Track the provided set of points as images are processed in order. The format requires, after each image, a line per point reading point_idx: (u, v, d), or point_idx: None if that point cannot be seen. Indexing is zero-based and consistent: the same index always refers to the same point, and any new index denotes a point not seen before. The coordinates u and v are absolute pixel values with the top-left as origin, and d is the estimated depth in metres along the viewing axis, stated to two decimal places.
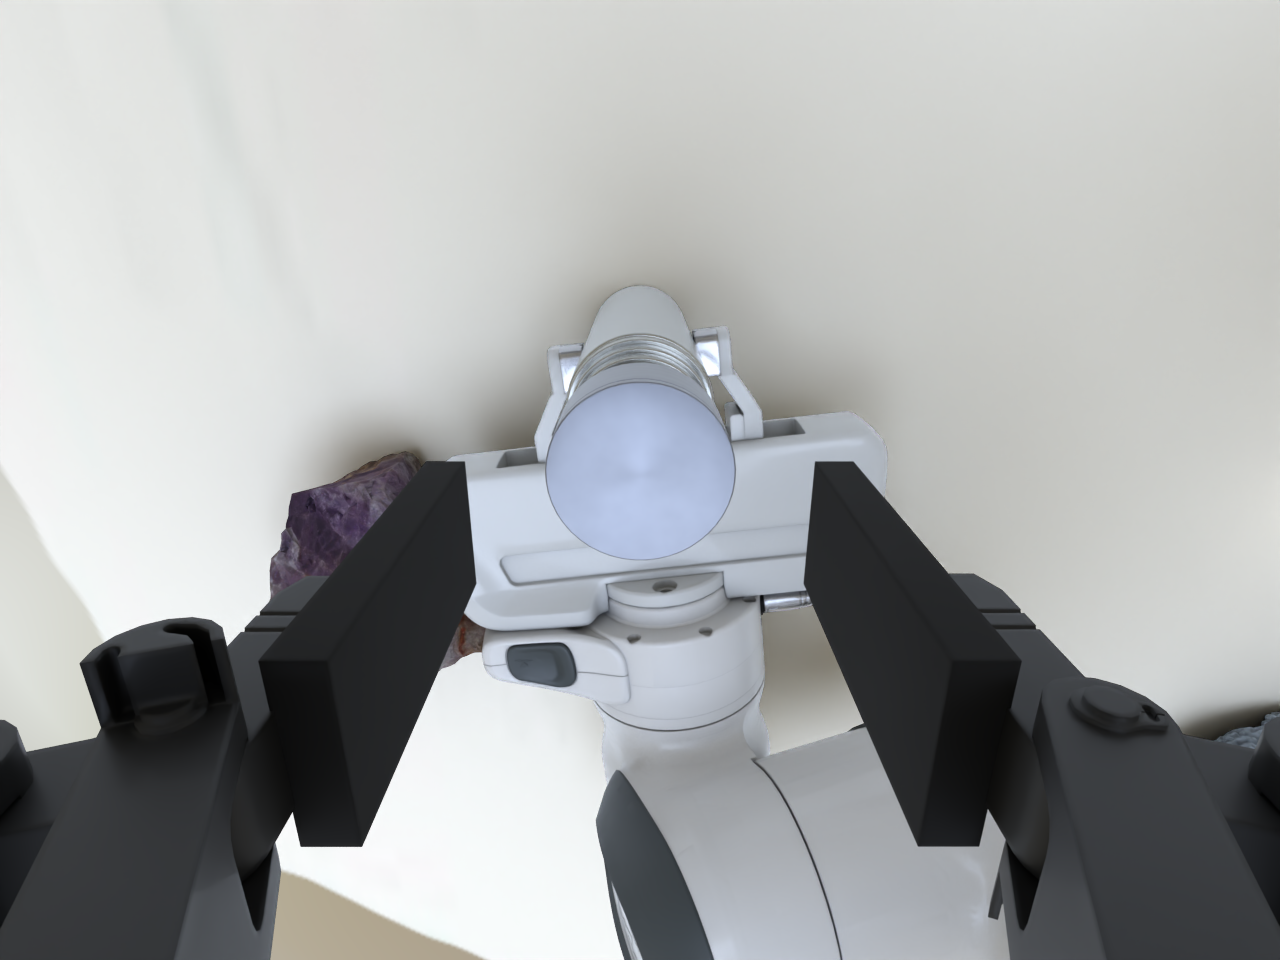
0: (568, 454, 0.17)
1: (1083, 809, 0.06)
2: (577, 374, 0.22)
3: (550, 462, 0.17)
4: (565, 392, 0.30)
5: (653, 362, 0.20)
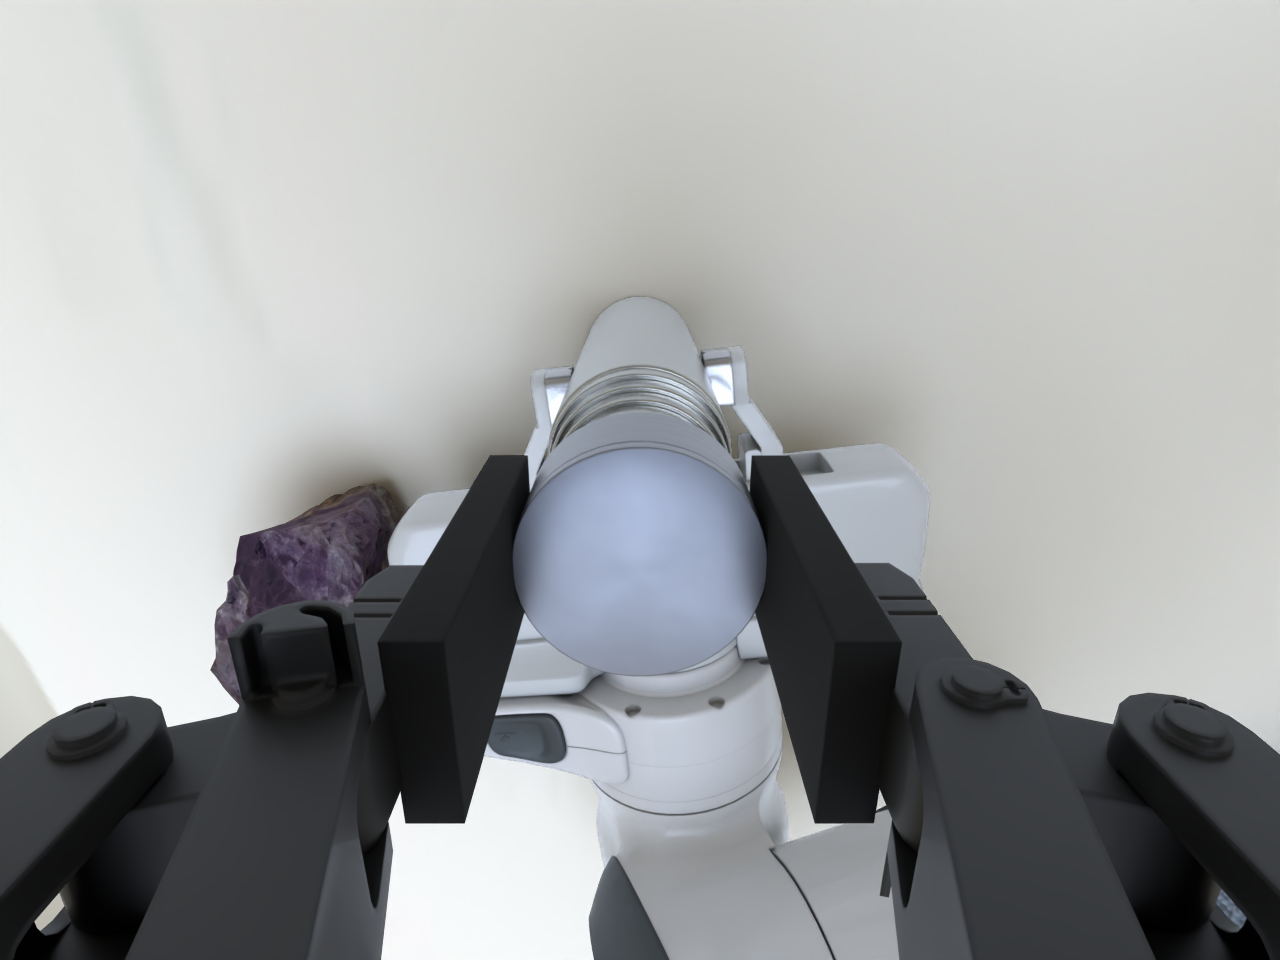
0: (542, 542, 0.12)
1: (950, 787, 0.06)
2: (561, 417, 0.17)
3: (517, 552, 0.12)
4: None
5: (656, 405, 0.16)
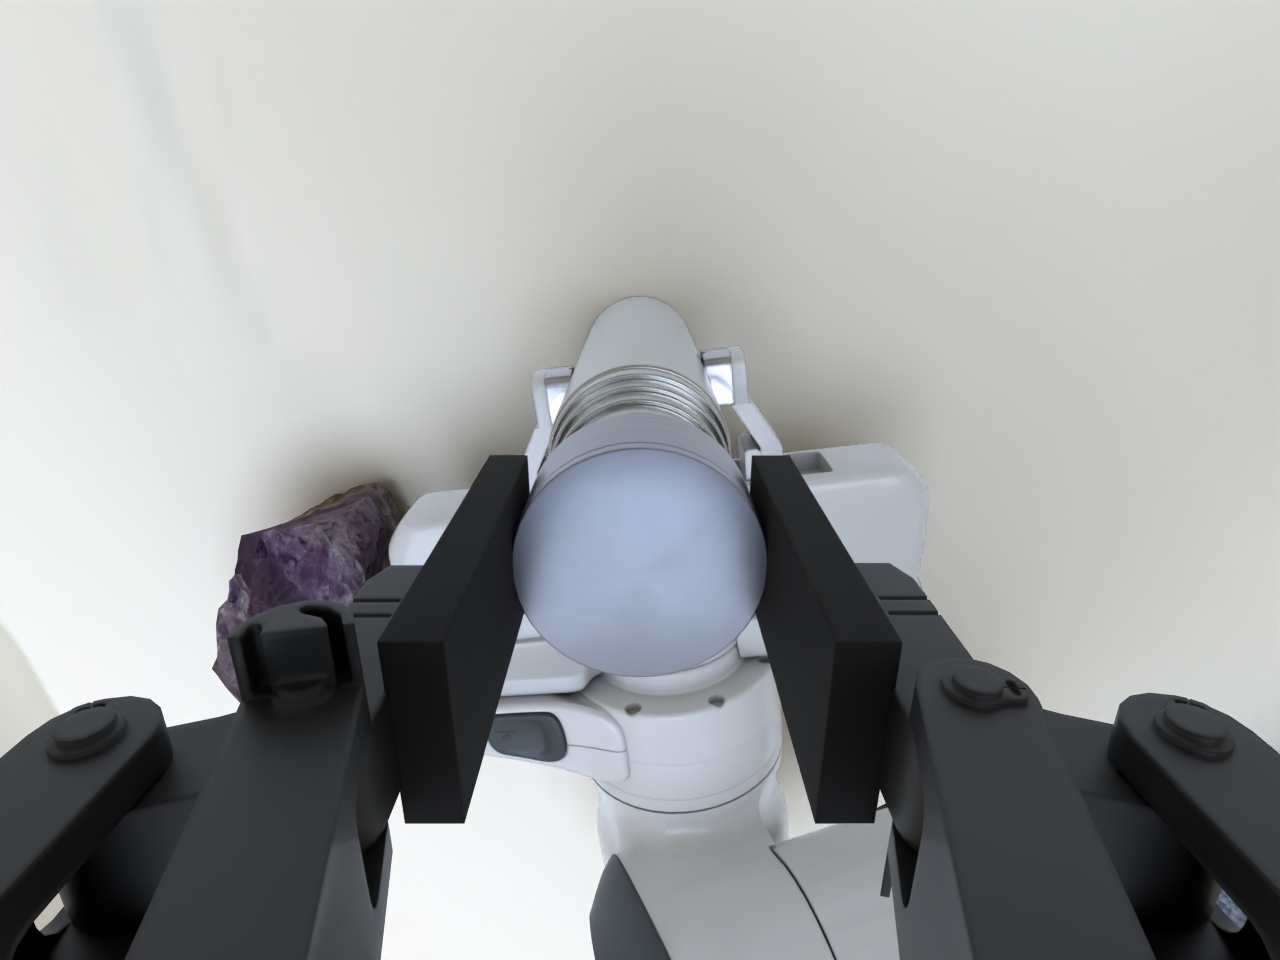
0: (615, 653, 0.13)
1: (951, 787, 0.06)
2: (561, 416, 0.17)
3: (627, 672, 0.13)
4: (552, 424, 0.25)
5: (656, 405, 0.16)
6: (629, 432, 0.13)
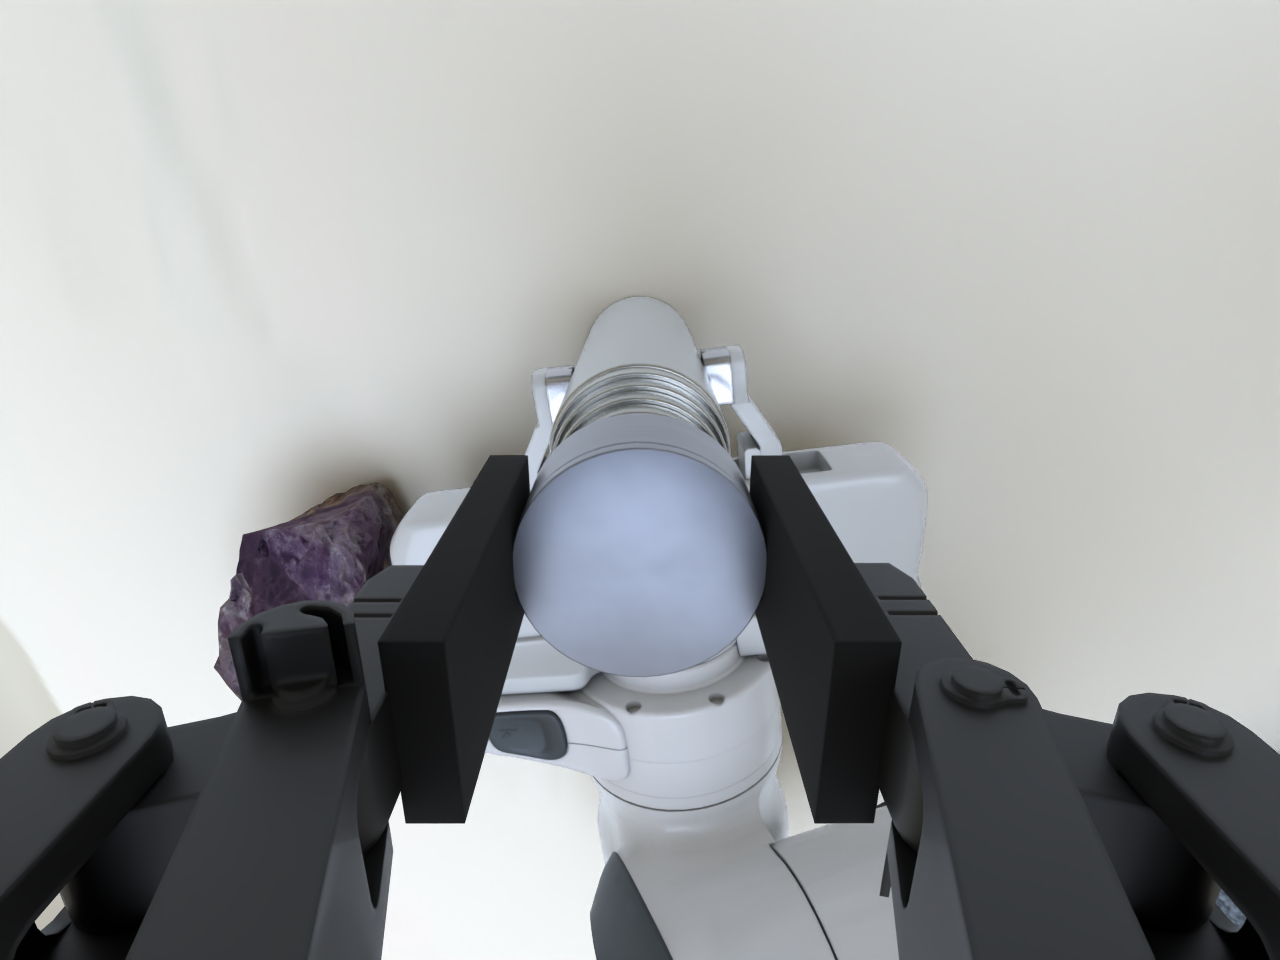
0: (737, 588, 0.13)
1: (950, 787, 0.06)
2: (561, 415, 0.17)
3: (761, 576, 0.12)
4: None
5: (656, 404, 0.16)
6: None
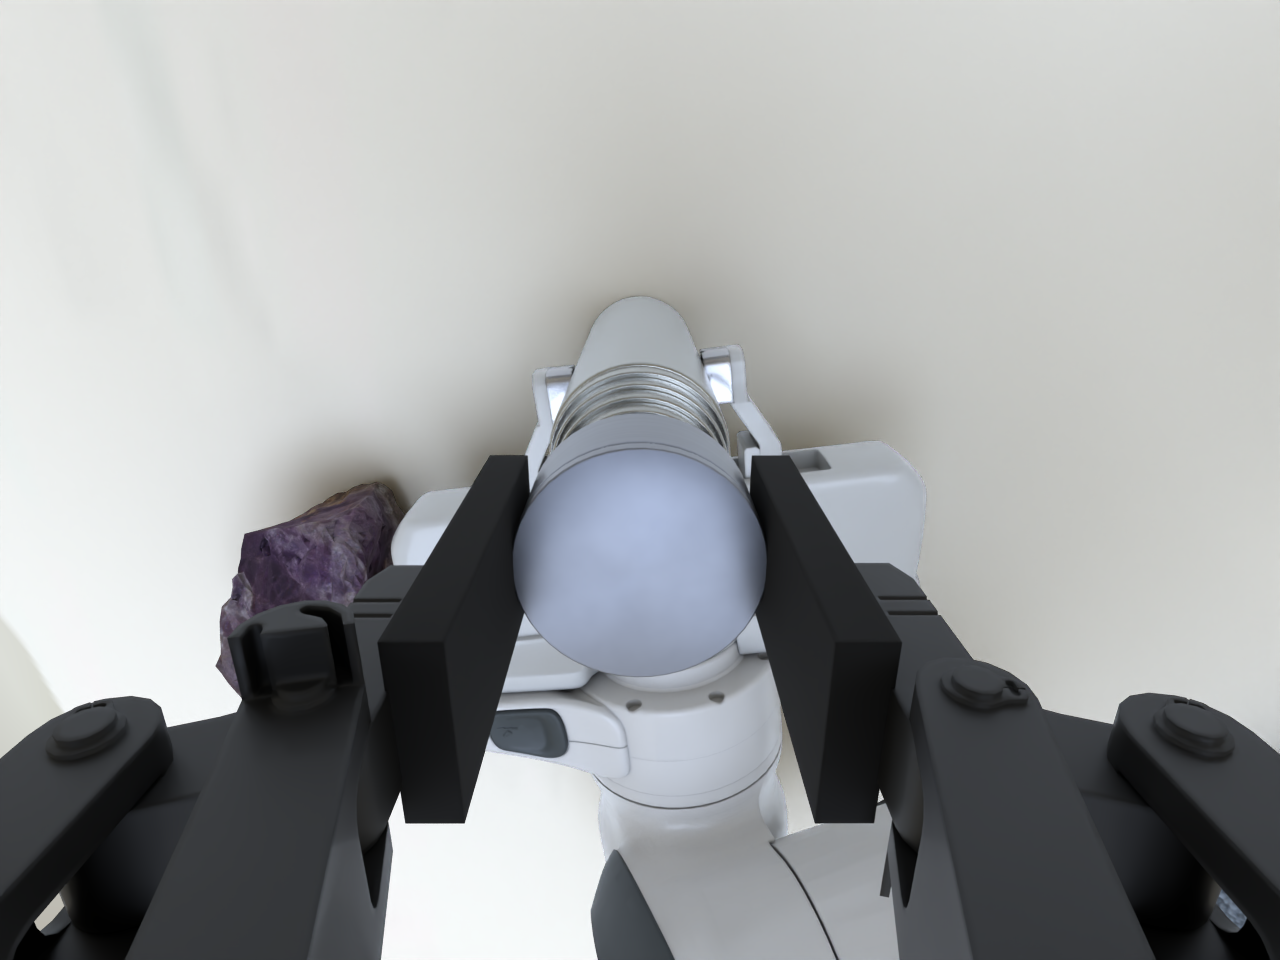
0: (655, 477, 0.12)
1: (951, 787, 0.06)
2: (562, 414, 0.17)
3: (639, 455, 0.12)
4: (553, 422, 0.26)
5: (656, 402, 0.16)
6: None
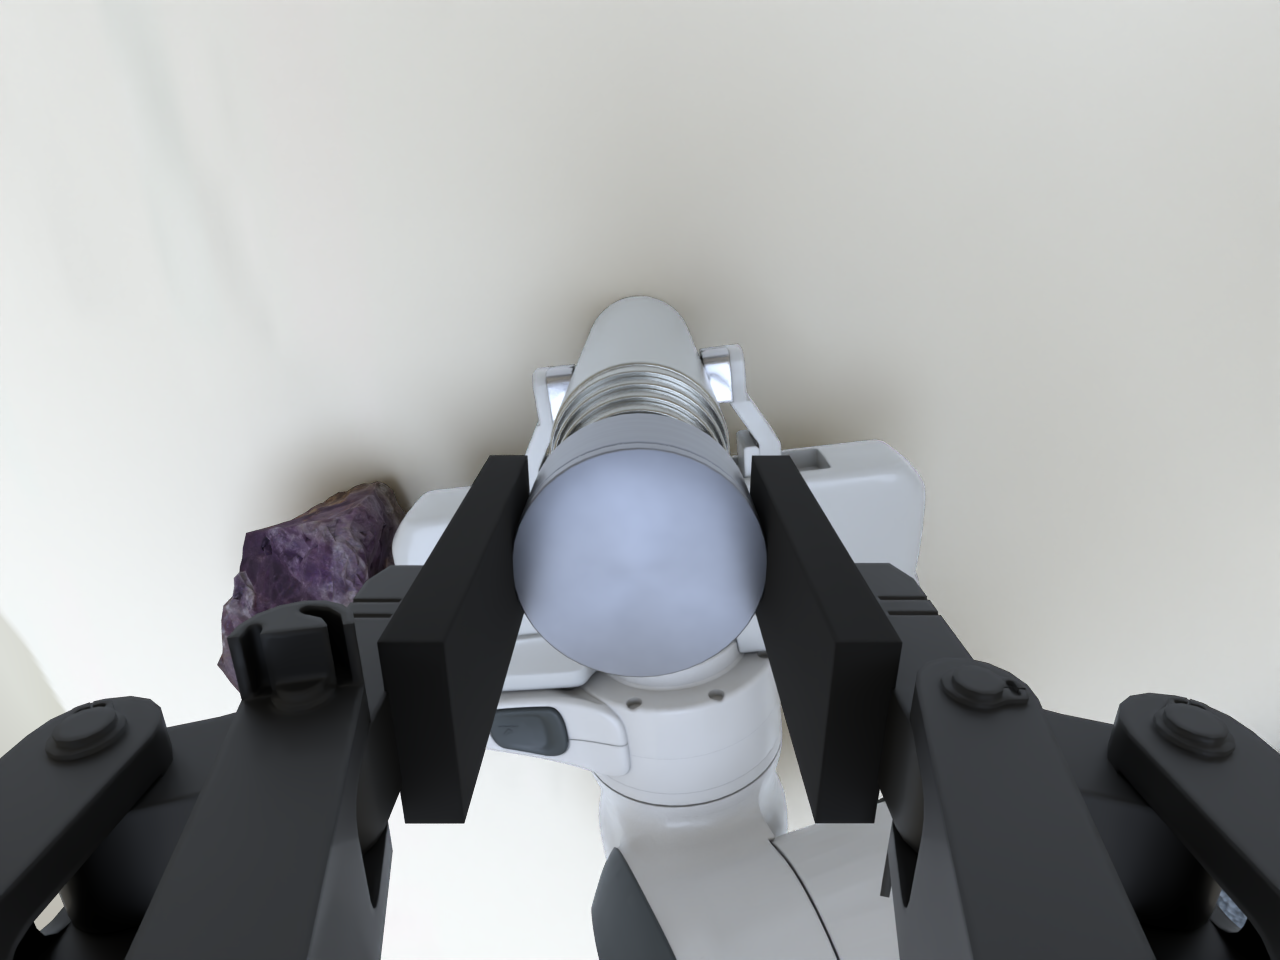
0: (538, 562, 0.12)
1: (951, 787, 0.06)
2: (562, 413, 0.18)
3: (518, 576, 0.13)
4: (553, 422, 0.26)
5: (655, 401, 0.16)
6: None
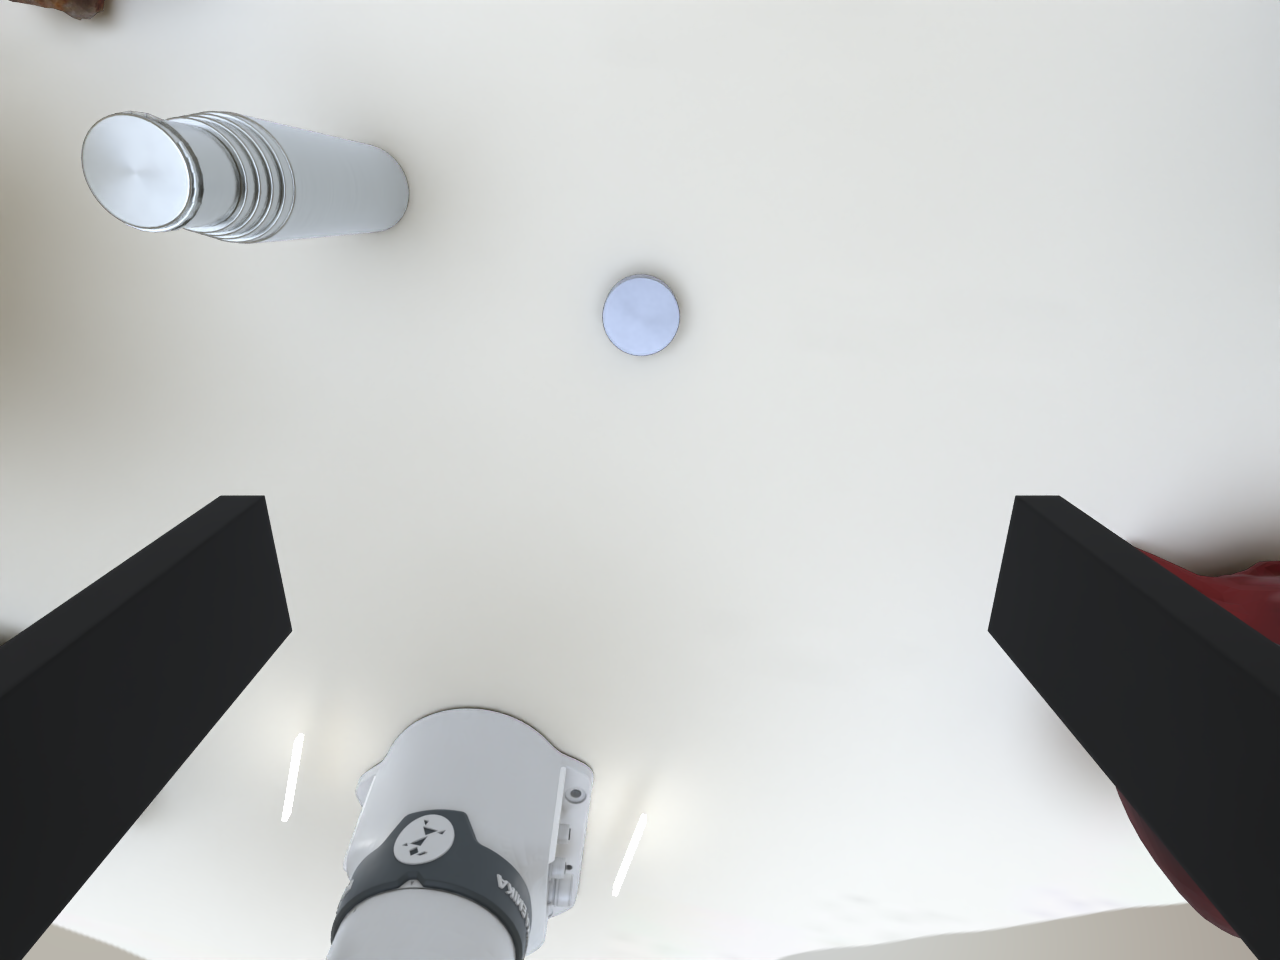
0: (610, 314, 0.42)
1: None
2: (250, 125, 0.26)
3: (604, 319, 0.42)
4: None
5: (257, 191, 0.26)
6: None
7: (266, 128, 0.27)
